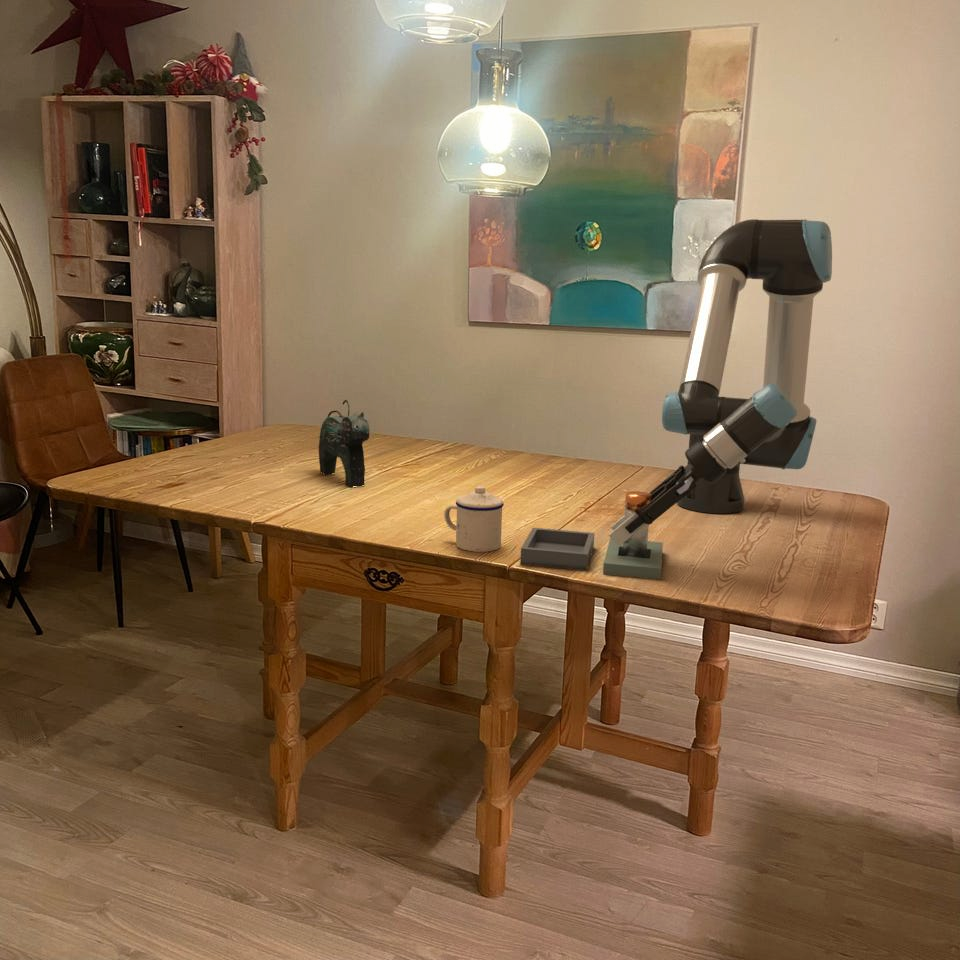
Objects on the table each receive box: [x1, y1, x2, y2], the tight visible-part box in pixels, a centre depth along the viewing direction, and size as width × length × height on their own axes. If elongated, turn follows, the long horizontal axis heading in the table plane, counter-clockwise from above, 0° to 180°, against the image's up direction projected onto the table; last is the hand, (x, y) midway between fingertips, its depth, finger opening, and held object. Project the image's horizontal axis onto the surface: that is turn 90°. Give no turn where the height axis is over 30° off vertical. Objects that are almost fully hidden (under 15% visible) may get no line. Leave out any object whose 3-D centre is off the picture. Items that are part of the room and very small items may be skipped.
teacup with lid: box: [443, 485, 505, 553], centre depth 178 cm, size 12×9×12 cm
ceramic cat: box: [318, 399, 370, 488], centre depth 225 cm, size 20×6×20 cm, turn 35°
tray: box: [519, 527, 595, 571], centre depth 174 cm, size 14×12×3 cm
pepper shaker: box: [622, 490, 652, 558], centre depth 170 cm, size 5×5×13 cm
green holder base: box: [602, 537, 664, 580], centre depth 171 cm, size 16×10×2 cm, turn 168°
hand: (614, 536), depth 171 cm, fingers closed on pepper shaker, 4 cm apart
